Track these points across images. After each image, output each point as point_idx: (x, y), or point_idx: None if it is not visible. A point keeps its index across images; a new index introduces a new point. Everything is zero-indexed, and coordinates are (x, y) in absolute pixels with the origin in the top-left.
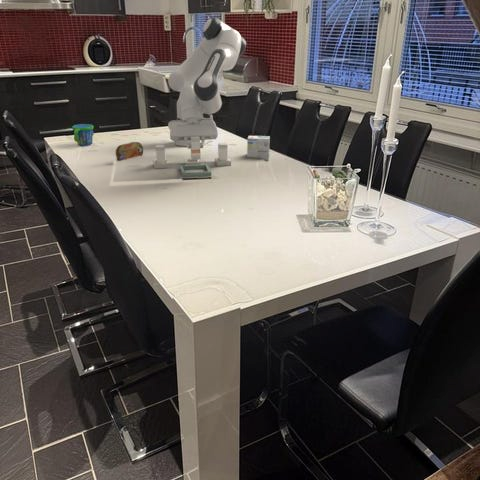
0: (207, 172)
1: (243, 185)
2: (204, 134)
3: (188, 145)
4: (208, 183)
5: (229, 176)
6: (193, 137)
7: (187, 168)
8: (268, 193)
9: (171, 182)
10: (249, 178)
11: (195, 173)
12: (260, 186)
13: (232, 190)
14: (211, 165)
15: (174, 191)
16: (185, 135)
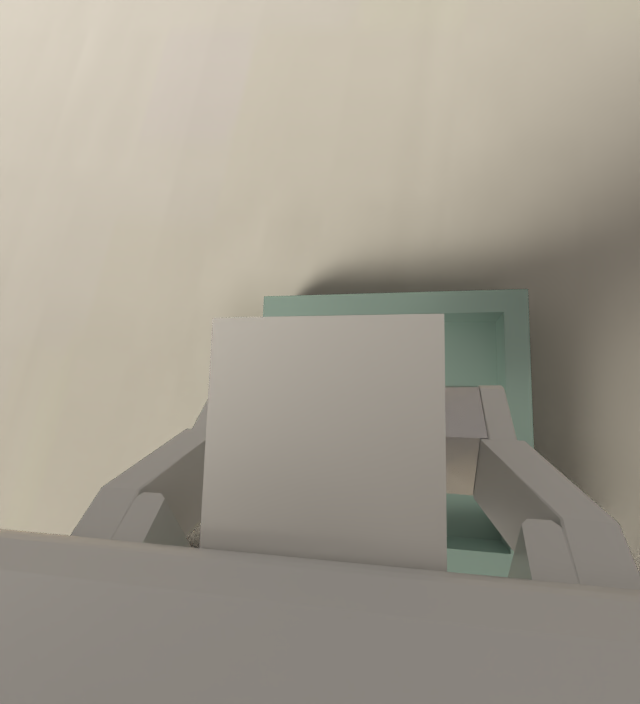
0: (296, 296)
1: (116, 148)
2: (25, 551)
3: (490, 394)
4: (321, 206)
5: (146, 353)
6: (364, 418)
7: (455, 541)
8: (38, 9)
9: (620, 259)
10: (40, 287)
11: (403, 294)
12: (35, 124)
13: (202, 57)
14: None
15: (598, 40)
16: (630, 606)
